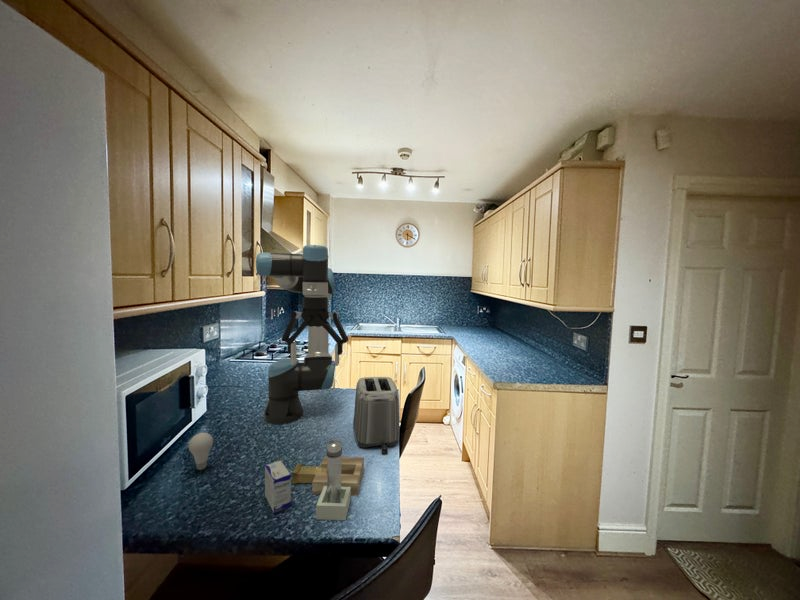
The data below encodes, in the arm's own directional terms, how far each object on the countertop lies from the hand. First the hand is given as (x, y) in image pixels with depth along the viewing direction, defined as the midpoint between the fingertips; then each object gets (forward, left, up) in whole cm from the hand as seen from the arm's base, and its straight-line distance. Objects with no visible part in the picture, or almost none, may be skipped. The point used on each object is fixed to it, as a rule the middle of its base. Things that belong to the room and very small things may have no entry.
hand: (315, 364), depth 97 cm
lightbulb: (-32, -7, -31) cm, 45 cm away
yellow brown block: (+2, -10, -30) cm, 32 cm away
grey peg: (+11, -21, -30) cm, 38 cm away
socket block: (+10, -10, -31) cm, 34 cm away
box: (-4, -19, -31) cm, 37 cm away
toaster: (+18, +18, -31) cm, 40 cm away
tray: (+11, -21, -31) cm, 39 cm away
